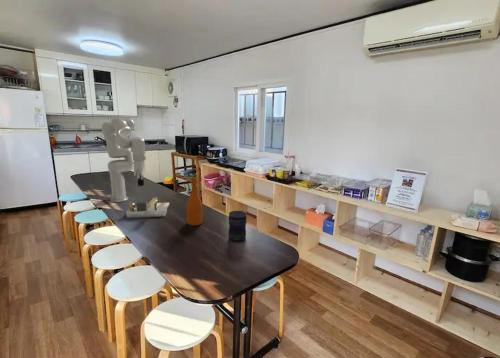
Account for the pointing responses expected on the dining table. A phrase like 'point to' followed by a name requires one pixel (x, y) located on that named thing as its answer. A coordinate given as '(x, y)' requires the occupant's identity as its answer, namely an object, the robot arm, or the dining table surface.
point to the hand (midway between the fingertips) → (141, 185)
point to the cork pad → (162, 204)
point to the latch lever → (152, 202)
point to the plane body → (146, 211)
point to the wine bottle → (194, 206)
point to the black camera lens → (237, 226)
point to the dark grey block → (142, 205)
